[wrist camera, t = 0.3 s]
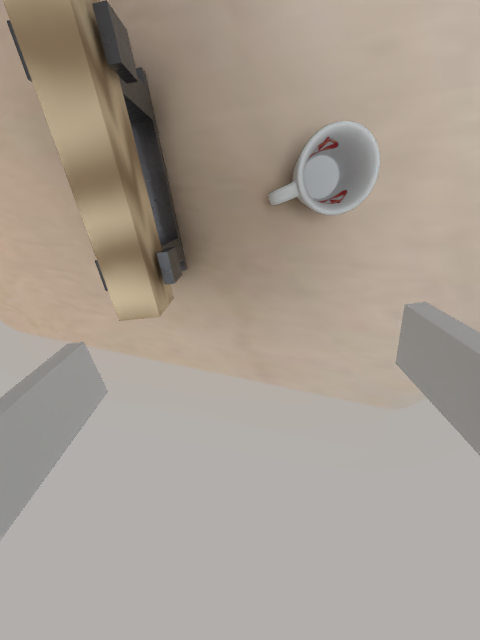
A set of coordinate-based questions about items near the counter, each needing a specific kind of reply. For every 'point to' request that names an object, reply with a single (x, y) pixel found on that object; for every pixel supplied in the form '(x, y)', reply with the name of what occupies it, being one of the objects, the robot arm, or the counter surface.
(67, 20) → the rail
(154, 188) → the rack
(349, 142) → the cup
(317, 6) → the counter surface
